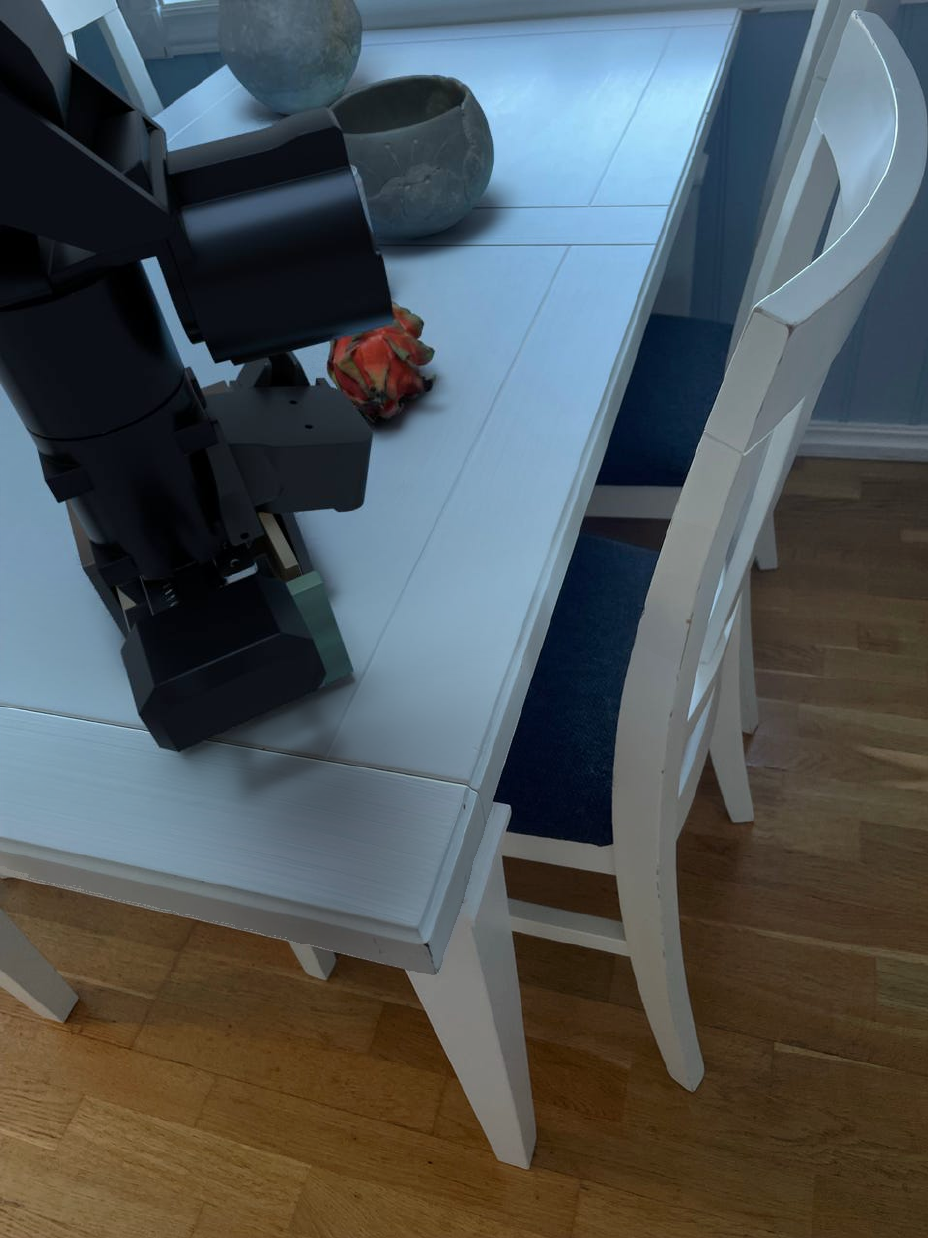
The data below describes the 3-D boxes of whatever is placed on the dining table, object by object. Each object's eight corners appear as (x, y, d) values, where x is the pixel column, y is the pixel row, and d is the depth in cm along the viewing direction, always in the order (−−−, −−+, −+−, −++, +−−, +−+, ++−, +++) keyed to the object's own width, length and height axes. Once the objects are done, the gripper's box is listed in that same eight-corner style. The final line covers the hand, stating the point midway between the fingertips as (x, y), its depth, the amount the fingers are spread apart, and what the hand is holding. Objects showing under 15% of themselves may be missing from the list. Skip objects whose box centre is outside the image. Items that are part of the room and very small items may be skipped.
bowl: (533, 222, 98) (521, 91, 89) (382, 285, 93) (353, 153, 84) (448, 176, 110) (429, 55, 100) (310, 230, 105) (277, 108, 96)
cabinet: (324, 597, 64) (284, 487, 57) (145, 673, 61) (82, 567, 55) (264, 485, 74) (224, 379, 67) (107, 546, 71) (49, 443, 64)
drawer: (379, 719, 55) (348, 629, 49) (193, 804, 53) (138, 720, 47) (289, 547, 67) (256, 458, 61) (133, 610, 64) (84, 525, 59)
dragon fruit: (406, 370, 85) (401, 467, 78) (317, 334, 82) (304, 432, 75) (449, 299, 79) (448, 398, 72) (355, 257, 76) (344, 356, 69)
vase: (215, 133, 131) (146, -86, 113) (283, 82, 143) (230, -124, 125) (337, 134, 124) (285, -99, 106) (399, 80, 135) (361, -138, 117)
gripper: (420, 440, 28) (485, 746, 39) (250, 225, 40) (337, 504, 52) (50, 586, 26) (232, 866, 37) (-9, 311, 38) (141, 583, 49)
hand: (243, 677), depth 44 cm, fingers closed
